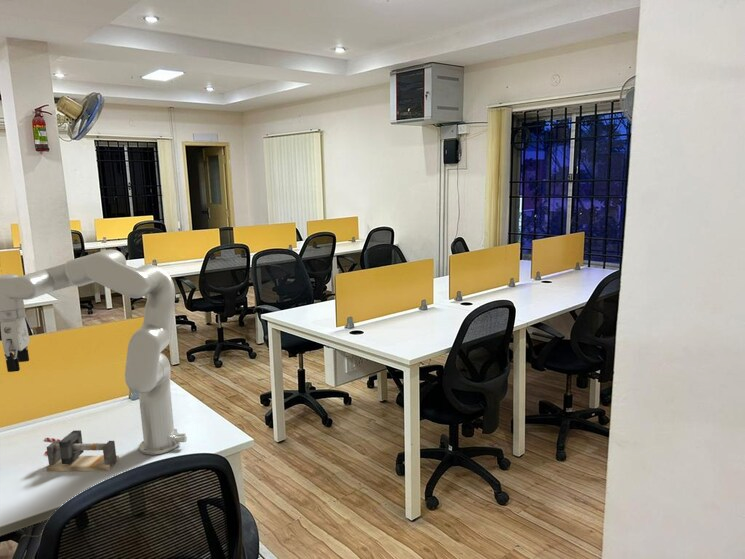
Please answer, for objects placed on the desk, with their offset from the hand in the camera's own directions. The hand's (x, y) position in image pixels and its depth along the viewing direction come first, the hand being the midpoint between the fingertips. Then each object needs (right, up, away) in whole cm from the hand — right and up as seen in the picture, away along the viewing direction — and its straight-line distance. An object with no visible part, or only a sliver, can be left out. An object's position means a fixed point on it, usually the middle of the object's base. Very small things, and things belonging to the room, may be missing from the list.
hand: (18, 366), depth 173 cm
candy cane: (+7, -29, +8) cm, 30 cm away
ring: (+20, -27, -5) cm, 34 cm away
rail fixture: (+23, -30, -5) cm, 38 cm away
